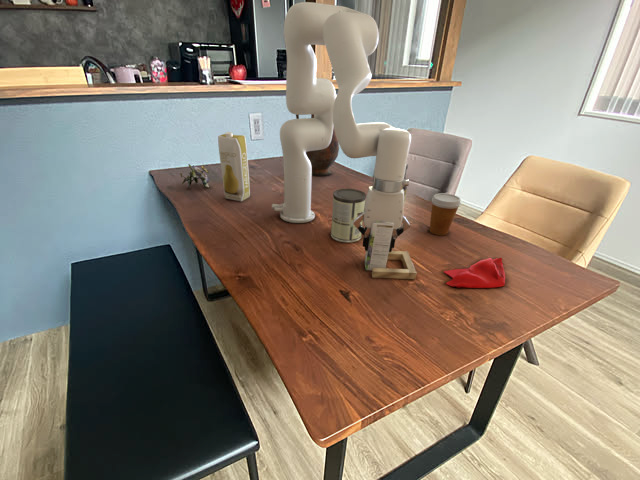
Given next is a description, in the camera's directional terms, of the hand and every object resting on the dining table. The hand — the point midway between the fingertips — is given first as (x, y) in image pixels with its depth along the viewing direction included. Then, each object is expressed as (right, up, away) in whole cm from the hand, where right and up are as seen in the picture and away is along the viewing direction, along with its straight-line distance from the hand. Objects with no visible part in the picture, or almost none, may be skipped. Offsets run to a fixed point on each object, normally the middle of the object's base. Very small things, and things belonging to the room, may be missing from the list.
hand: (377, 248), depth 102 cm
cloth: (+30, -8, +2) cm, 31 cm away
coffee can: (-8, +8, +19) cm, 22 cm away
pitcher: (-18, +51, +75) cm, 93 cm away
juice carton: (-49, +29, +44) cm, 72 cm away
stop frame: (+4, -5, +3) cm, 7 cm away
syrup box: (0, -5, +4) cm, 6 cm away
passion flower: (-68, +36, +51) cm, 92 cm away
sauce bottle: (+11, +16, +32) cm, 37 cm away
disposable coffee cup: (+25, +11, +26) cm, 38 cm away
